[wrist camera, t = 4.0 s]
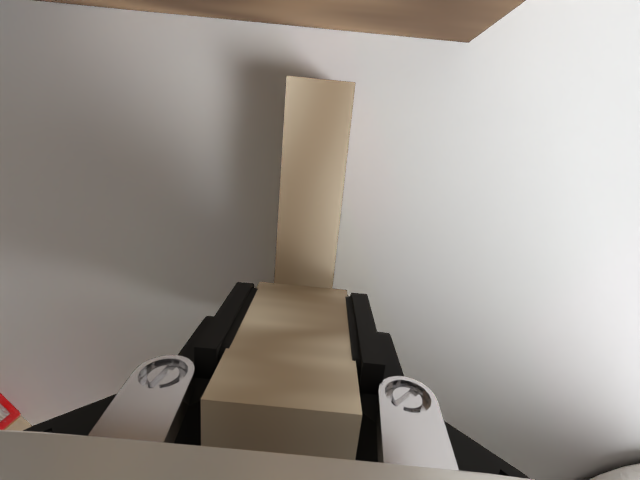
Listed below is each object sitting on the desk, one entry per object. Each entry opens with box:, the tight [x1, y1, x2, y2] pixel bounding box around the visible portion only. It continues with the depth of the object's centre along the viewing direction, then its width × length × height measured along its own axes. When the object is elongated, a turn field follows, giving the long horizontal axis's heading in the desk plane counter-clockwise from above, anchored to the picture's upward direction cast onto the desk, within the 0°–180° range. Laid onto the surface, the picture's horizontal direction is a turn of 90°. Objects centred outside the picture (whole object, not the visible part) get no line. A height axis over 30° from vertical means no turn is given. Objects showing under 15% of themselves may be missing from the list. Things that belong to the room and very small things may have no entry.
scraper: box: [201, 76, 362, 460], centre depth 10 cm, size 3×16×8 cm, turn 175°
